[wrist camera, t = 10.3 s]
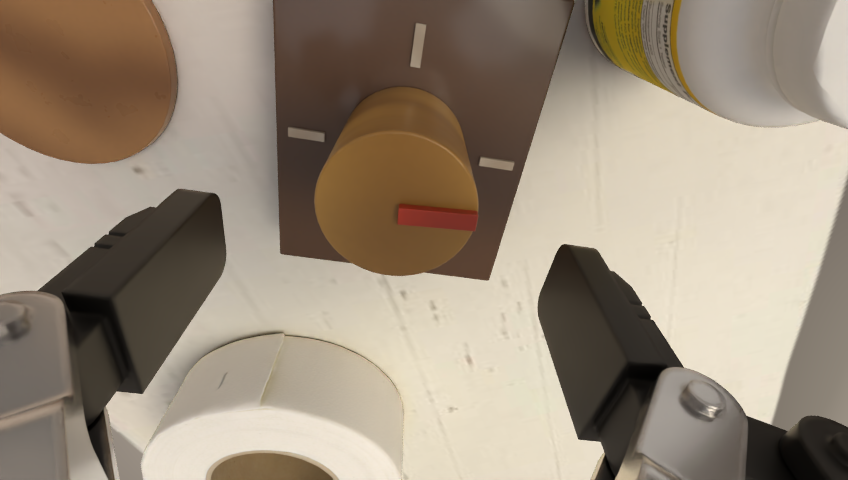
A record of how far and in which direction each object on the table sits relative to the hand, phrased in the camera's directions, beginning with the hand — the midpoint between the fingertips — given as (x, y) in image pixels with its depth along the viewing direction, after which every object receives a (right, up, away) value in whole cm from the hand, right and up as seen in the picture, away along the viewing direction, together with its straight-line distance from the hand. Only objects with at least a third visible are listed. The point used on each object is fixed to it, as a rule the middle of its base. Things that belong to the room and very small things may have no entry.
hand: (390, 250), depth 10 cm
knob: (0, +4, +7) cm, 8 cm away
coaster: (-15, +8, +7) cm, 18 cm away
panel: (0, +6, +9) cm, 11 cm away
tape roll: (-9, -12, +21) cm, 25 cm away
